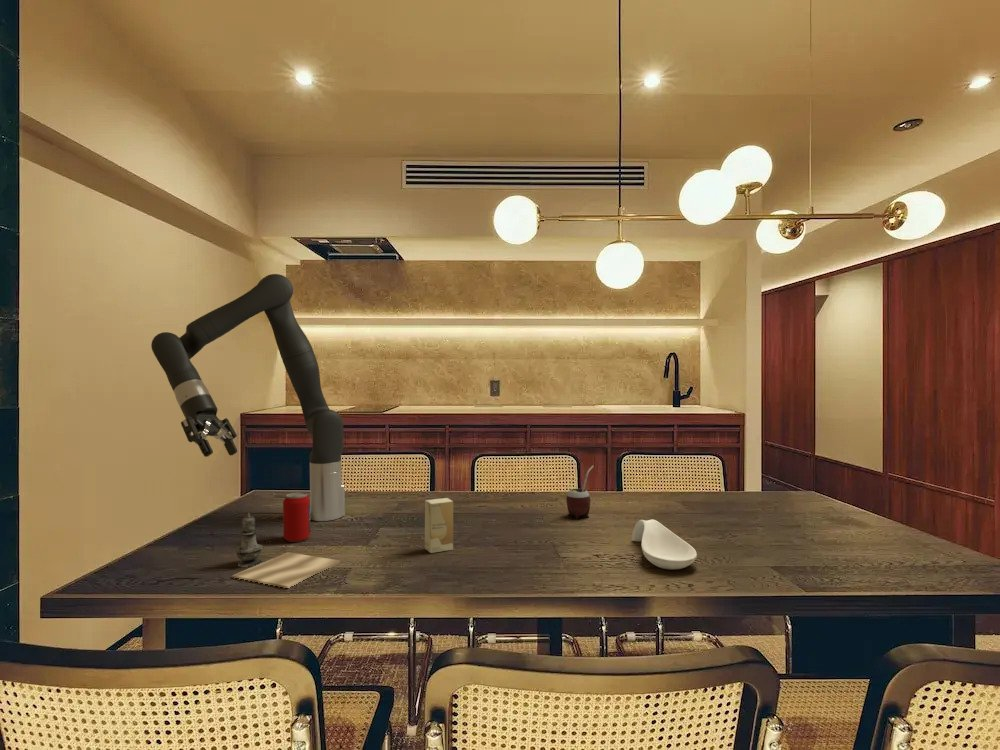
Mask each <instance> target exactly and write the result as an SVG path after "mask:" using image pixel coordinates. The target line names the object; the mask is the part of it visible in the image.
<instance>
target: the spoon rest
mask: <svg viewBox="0 0 1000 750" xmlns="http://www.w3.org/2000/svg"><path fill="white" fill-rule="evenodd" d="M631 541H633V542H640V543H641V545H640V546H641V551H642V553H643V556H644V557H645V558H646V560H648V561H649V563H650V564H652V565H654V566H655V567H657V568H660V569H663V570H670V571H671V570H672V571H673V570H681V569H684V568H687V567H688V566H690V565H691V564H692V563H694V562H695V560H697V558H698V557H697V556H698V553H697V551H696V549H695V548H694V547H693V546H692V545H690V544H689V543H688V542H686V541H685V540H684V539H683V538H681V537H679V536H678V535H677V534H675V533H674V532H673V531H671V530H670V529H669V528H667V527H666V526H664V525H663V524H662V523H661V522H659V521H657V520H656V519H649V520H644V519H639V520H638V521H637V522H636V524H635V525H634V527H633V531H632V533H631Z"/></svg>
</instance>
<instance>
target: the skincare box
mask: <svg viewBox="0 0 1000 750" xmlns="http://www.w3.org/2000/svg"><path fill="white" fill-rule="evenodd" d="M424 549H425V550H426V551H427V552H428V553H430V554H434V553H439V552H446V551H453V550H454V501H453V500H451V499H450V498H448V497H443V498H434V499H426V500H424Z"/></svg>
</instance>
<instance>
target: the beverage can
mask: <svg viewBox="0 0 1000 750" xmlns="http://www.w3.org/2000/svg"><path fill="white" fill-rule="evenodd" d="M310 511H311V510H310V497H309V495H308V493H307V492H304V491H303V492H292V493H288V494H285V498H284V500H283V502H282V512H283V517H282V518H283V519H282V520H283V521H282V522H283V523H282V524H283V539H284V540H286V541H287V542H288V543H299V542H304V541H306V540H307V539H308V538H310V537H311V514H310ZM303 540H304V541H303Z"/></svg>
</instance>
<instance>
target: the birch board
mask: <svg viewBox="0 0 1000 750" xmlns="http://www.w3.org/2000/svg"><path fill="white" fill-rule="evenodd" d="M339 564H341V560H339V559H333V558H327V557H321V556H313V555H308V554H301V553H297V552H291V551H290V552H289V551H287V552H285V553H283V554H280V555H278V556H275V557H274V558H271V559H269V560H265V561H263V562H261V563H260V564H258V565H256V566H253V567H248V568H246V569H244V570H240V571H239V572H236V573H234V574H232V575H231V577H234V578H233V579H235V578H239V579H238V580H240V579H244V580H243V581H245V580H248V581H247V582H250V581H252V582H251V583H255V582H258V583H257V584H260V583H263V584H262V585H265V584H268V585H267V586H270V585H273V586H272V587H275V586H278V587H277V588H280V587H283V588H282V589H285V588H289V589H290V587H291V586H293V587H295V586H297V585H299V584H300V583H299V582H301V583H303V582H304V581H303V580H305V579H307V578H309V577H311V576H313V575H315V574H317V573H319V574H321V573H323V572H325V571H327V570H329V569H331V568H333V567H335V566H337V565H339ZM328 568H329V569H328ZM326 569H327V570H326ZM324 570H325V571H324ZM322 571H323V572H322ZM320 572H321V573H320ZM317 575H318V574H317ZM315 576H316V575H315ZM313 577H314V576H313ZM311 578H312V577H311ZM309 579H310V578H309ZM307 580H308V579H307ZM302 581H303V582H302ZM305 581H306V580H305ZM298 583H299V584H298ZM296 584H297V585H296ZM294 585H295V586H294ZM291 588H292V587H291Z"/></svg>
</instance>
